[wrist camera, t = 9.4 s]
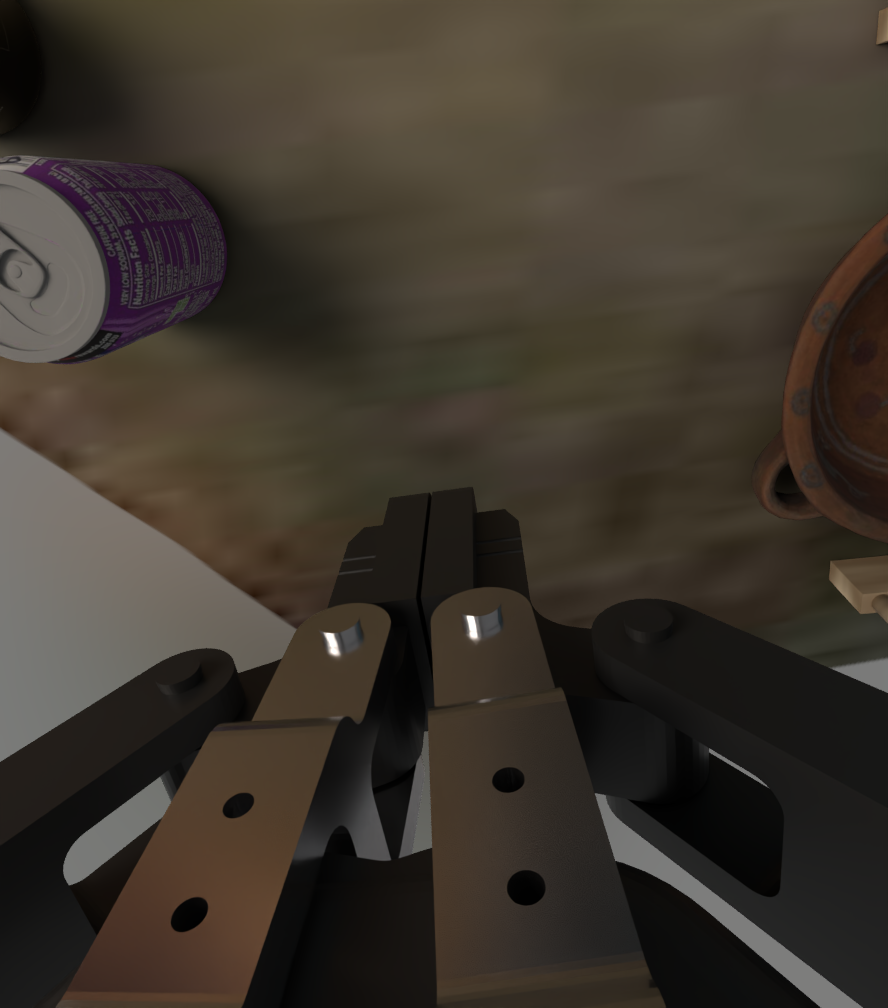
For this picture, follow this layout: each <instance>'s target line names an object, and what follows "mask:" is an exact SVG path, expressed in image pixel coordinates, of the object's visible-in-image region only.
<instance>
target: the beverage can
mask: <svg viewBox="0 0 888 1008" xmlns="http://www.w3.org/2000/svg"><path fill="white" fill-rule="evenodd" d="M226 266H227V247H226V241H225V236H224V232H223V229H222V226H221V223H220V221H219V219H218V217H217V215H216V213H215V211H214V209H213V208H212V206H211V205H210V203H209V202H208V200H207V199H206V198H205V197H204V195H203V194H202V193H201V192H200V191H199V190H198V189H197V188H196V187H195V186H194V185H192V184H191V183H190V182H189V181H187V180H186V179H185V178H183V177H181V176H180V175H178V174H176V173H174V172H172V171H170V170H168V169H165V168H162V167H159V166H154V165H148V164H135V163H122V162H108V161H95V160H82V159H68V158H55V157H41V156H26V155H19V156H8V157H2V158H0V356H2V357H5V358H8V359H11V360H15V361H20V362H27V363H43V362H48V363H55V364H76V363H82V362H87V361H90V360H94V359H97V358H99V357H102V356H104V355H106V354H108V353H111V352H113V351H115V350H118V349H120V348H122V347H124V346H127V345H129V344H131V343H133V342H136V341H138V340H140V339H142V338H145V337H147V336H149V335H151V334H154V333H156V332H158V331H160V330H163V329H165V328H167V327H169V326H172V325H174V324H176V323H178V322H181V321H183V320H185V319H188V318H190V317H192V316H194V315H196V314H197V313H199V312H201V311H202V310H203V309H204V308H206V307H207V306H208V305H209V304H210V303H211V302H212V300H213V299H214V298H215V296H216V295H217V293H218V291H219V289H220V287H221V285H222V283H223V280H224V276H225V272H226Z"/></svg>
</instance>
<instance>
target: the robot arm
mask: <svg viewBox="0 0 888 1008" xmlns="http://www.w3.org/2000/svg"><path fill="white" fill-rule="evenodd" d="M343 559H344V562H342V565H341V568H340V571H339V575H338V577H337V580H336V583H335V586H334V589H333V592H332V596H331V599H330V602H329V605H328V608H327V609H326V610H324V611H321V612H319V613H317V614H315V615H314V616H312V617H311V618H309V619H308V620H306V621H305V622H304V623H303V624H302V625H301V626H300V627H299V628H298V629H297V631H296V632H295V634H294V636H293V638H292V640H291V642H290V644H289V646H288V648H287V650H286V652H285V654H284V656H283V658H282V659H280V660H277V661H275V662H272V663H269V664H266V665H262V666H260V667H256V668H253V669H251V670H247V671H244V672H241V673H238V672H237V670H236V667H235V664H234V661H233V659H232V657H231V656H230V655H229V654H228V653H226V652H224V651H222V650H218V649H207V648H206V649H196V650H191V651H186V652H183V653H180V654H177V655H174V656H172V657H170V658H168V659H165V660H163V661H161V662H160V663H158V664H156V665H155V666H153V667H151V668H150V669H148V670H147V671H145V672H143V673H142V674H141V675H138V676H137V677H135V678H134V679H132V680H130V681H129V682H127V683H126V684H124V685H123V686H121V687H119V688H118V689H116V690H115V691H113V692H111V693H110V694H108V695H107V696H105V697H103V698H102V699H100V700H99V701H97V702H95V703H94V704H92V705H91V706H89V707H87V708H86V709H84V710H83V711H81V712H80V713H78V714H76V715H75V716H73V717H71V718H70V719H68V720H67V721H65V722H64V723H62V724H60V725H59V726H57V727H55V728H54V729H52V730H51V731H49V732H48V733H46V734H44V735H43V736H41V737H39V738H38V739H36V740H35V741H33V742H31V743H30V744H28V745H27V746H25V747H23V748H22V749H20V750H19V751H17V752H16V753H14V754H12V755H11V756H9V757H7V758H6V759H4V760H3V761H1V762H0V1008H820V1007H819V1006H818V1005H817V1004H816V1003H815V1002H813V1001H812V1000H811V999H810V998H809V997H807V996H806V995H805V994H804V993H803V992H802V991H800V990H799V989H798V988H797V987H796V986H795V985H793V984H792V983H791V982H790V981H789V980H787V979H786V978H785V977H784V976H783V975H782V974H780V973H779V972H778V971H777V970H776V969H774V968H773V967H772V966H771V965H770V964H769V963H767V962H766V961H765V960H764V959H763V958H762V957H760V956H759V955H758V954H757V953H755V952H754V951H753V950H752V949H751V948H750V947H749V946H747V945H746V944H745V943H744V942H743V941H742V940H740V939H739V938H738V937H737V936H736V935H734V934H733V933H732V932H731V931H730V930H729V929H727V928H726V927H725V926H724V925H722V924H721V923H720V922H719V921H718V920H717V919H716V918H714V917H713V916H712V915H711V914H710V913H708V912H707V911H706V910H705V909H703V908H702V907H701V906H700V905H698V904H697V903H696V902H695V901H693V900H692V899H691V898H689V897H688V896H686V895H685V894H683V893H682V892H680V891H679V890H677V889H676V888H674V887H673V886H671V885H670V884H668V883H666V882H664V881H662V880H660V879H658V878H657V877H655V876H653V875H651V874H649V873H647V872H645V871H642V870H640V869H637V868H635V867H632V866H629V865H626V864H624V863H621V862H617V861H615V859H614V856H613V852H612V849H611V846H610V842H609V839H608V836H607V832H606V829H605V826H604V823H603V819H602V816H601V813H600V810H599V806H598V803H597V800H596V796H595V793H598V794H604V795H606V799H607V802H608V805H609V807H610V809H611V810H612V812H613V813H614V814H615V816H616V817H617V818H619V819H620V820H621V821H622V822H623V823H624V824H625V825H627V826H628V827H629V828H631V829H632V830H633V831H635V832H636V833H637V834H639V835H640V836H641V837H642V838H644V839H645V840H646V841H648V842H649V843H650V844H651V845H653V846H654V847H655V848H657V849H658V850H659V851H661V852H662V853H663V854H664V855H666V856H667V857H668V858H670V859H671V860H672V861H673V862H675V863H676V864H677V865H679V866H680V867H681V868H683V869H684V870H685V871H687V872H688V873H689V874H690V875H692V876H693V877H694V878H696V879H697V880H699V881H700V882H701V883H702V884H703V885H705V886H706V887H707V888H709V889H710V890H711V891H712V892H714V893H715V894H716V895H718V896H719V897H720V898H722V899H723V900H724V901H725V902H727V903H728V904H729V905H731V906H732V907H733V908H734V909H736V910H737V911H738V912H740V913H741V914H742V915H744V916H745V917H746V918H747V919H749V920H750V921H751V922H753V923H754V924H755V925H757V926H758V927H759V928H760V929H762V930H763V931H764V932H766V933H767V934H768V935H770V936H771V937H772V938H774V939H775V940H776V941H777V942H779V943H780V944H781V945H783V946H784V947H785V948H786V949H788V950H789V951H790V952H792V953H793V954H794V955H795V956H797V957H798V958H799V959H801V960H802V961H803V962H805V963H806V964H807V965H809V966H810V967H811V968H812V969H814V970H815V971H816V972H818V973H819V974H820V975H822V976H823V977H824V978H825V979H827V980H828V981H829V982H831V983H832V984H833V985H834V986H836V987H837V988H839V989H840V990H841V991H842V992H844V993H845V994H846V995H847V996H849V997H850V998H851V999H853V1000H854V1001H855V1002H856V1003H858V1004H859V1005H861V1006H862V1007H863V1008H888V693H886V692H884V691H882V690H879V689H877V688H875V687H872V686H870V685H868V684H865V683H863V682H861V681H858V680H856V679H854V678H851V677H849V676H847V675H844V674H842V673H840V672H837V671H835V670H833V669H830V668H828V667H826V666H824V665H821V664H819V663H817V662H814V661H812V660H810V659H807V658H805V657H803V656H800V655H798V654H796V653H793V652H791V651H789V650H786V649H784V648H782V647H779V646H777V645H775V644H772V643H770V642H768V641H765V640H763V639H761V638H758V637H756V636H754V635H751V634H749V633H747V632H744V631H742V630H740V629H737V628H735V627H733V626H730V625H728V624H726V623H723V622H721V621H719V620H717V619H714V618H712V617H710V616H707V615H705V614H703V613H700V612H698V611H696V610H693V609H691V608H689V607H686V606H684V605H681V604H678V603H676V602H671V601H667V600H661V599H635V600H629V601H625V602H621V603H618V604H615V605H613V606H611V607H609V608H607V609H605V610H604V611H603V612H602V613H600V614H599V615H598V616H597V618H596V619H595V621H594V622H593V625H592V629H587V628H577V627H570V626H565V625H561V624H558V623H555V622H552V621H550V620H548V619H546V618H544V617H543V616H542V615H540V614H539V613H538V612H537V611H536V610H535V609H534V607H533V606H532V604H531V601H530V596H529V589H528V582H527V575H526V568H525V562H524V555H523V548H522V541H521V534H520V528H519V521H518V520H517V519H516V518H515V517H513V516H512V515H511V514H510V513H509V512H507V511H506V510H505V509H502V510H495V511H487V512H479V513H477V508H476V502H475V496H474V491H473V487H467V488H459V489H452V490H444V491H437V492H433V493H432V496H431V494H430V493H423V494H415V495H408V496H400V497H393V498H390V499H389V502H388V507H387V511H386V515H385V519H384V523H383V525H381V526H373V527H365V528H363V529H362V530H361V531H360V532H359V533H358V534H357V535H356V536H355V537H354V538H353V539H352V540H351V541H350V542H349V543H348V546H347V549H346V552H345V555H344V558H343ZM424 731H428V733H429V734H428V735H429V762H430V763H429V764H430V795H431V823H432V824H431V825H432V848H430V849H427V850H423V851H420V852H417V853H414V854H412V850H413V843H414V838H415V831H416V825H417V819H418V813H419V807H420V801H421V795H422V789H423V783H424V777H425V770H424V764H423V759H422V755H421V752H422V747H423V737H424ZM709 748H710V749H712V750H713V751H715V752H717V753H718V754H720V755H722V756H723V757H725V758H727V759H728V760H730V761H732V762H733V763H735V764H737V765H739V766H740V767H742V768H744V769H745V770H747V771H749V772H750V773H752V774H753V775H755V776H756V777H758V778H759V779H760V780H762V781H763V782H764V783H765V784H766V785H767V786H768V787H769V788H768V787H766V786H764V785H763V784H761V783H759V782H757V781H756V780H754V779H753V778H751V777H749V776H748V775H746V774H744V773H743V772H741V771H739V770H737V769H736V768H734V767H733V766H731V765H729V764H727V763H726V762H724V761H722V760H721V759H719V758H717V757H716V756H714V755H713V754H711V753H709ZM159 777H161V779H162V782H163V784H164V786H165V788H166V791H167V793H168V795H169V798H170V799H171V804H170V806H169V807H168V809H167V811H166V813H165V814H164V816H163V817H162V818H161V819H160V820H159V821H157V822H156V823H155V824H153V825H152V826H151V827H150V828H148V829H147V830H146V831H145V832H143V833H142V834H141V835H139V836H138V837H137V838H136V839H134V840H133V841H132V842H131V843H129V844H128V845H127V846H126V847H124V848H123V849H122V850H120V851H119V852H118V853H117V854H115V856H113V857H112V858H110V859H109V860H108V861H107V862H105V863H104V864H103V865H101V866H100V867H99V868H98V869H96V870H95V871H94V872H93V873H91V874H90V875H89V876H88V877H86V878H85V879H83V880H82V881H80V882H78V883H75V884H73V885H68V883H67V882H66V880H65V878H64V874H63V864H64V860H65V858H66V855H67V853H68V851H69V849H70V848H71V846H72V845H73V844H74V842H75V841H76V840H77V839H78V838H79V837H80V836H81V835H82V834H84V833H85V832H86V831H88V830H89V829H90V828H92V827H93V826H94V825H96V824H97V823H98V822H100V821H101V820H102V819H104V818H105V817H106V816H108V815H109V814H110V813H112V812H113V811H114V810H116V809H117V808H118V807H120V806H121V805H122V804H124V803H125V802H127V801H128V800H129V799H131V798H132V797H133V796H135V795H136V794H137V793H139V792H140V791H141V790H142V789H144V788H145V787H147V786H148V785H149V784H151V783H152V782H153V781H155V780H156V779H157V778H159Z"/></svg>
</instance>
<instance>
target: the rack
mask: <svg viewBox="0 0 888 1008" xmlns="http://www.w3.org/2000/svg"><path fill="white" fill-rule="evenodd" d="M883 43H888V7H887V8H885V9H883V10H881V11H879V19H878V31H877V42H876V45H877V44H883ZM829 580H830V581H831V582H832V583H833V584H834V585H835V586H836V588H837V589H838V590H839V591H840V592H841V593H842V594H843V595H844V596H845V597H846V599H847V600H848V601H849V602H850V603H851V604H852V605H853V606H854V607H855V608H856V610H857V611H858V612H859V613H860V614H866V613H876V612H877V613H878V614H879V615H880V616H881V617H882V618H883V619H884V620H885V621H886V622H887V623H888V555H886V556H876V557H866V558H856V559H846V560H836V561H831V563H830V574H829Z"/></svg>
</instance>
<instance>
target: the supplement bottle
mask: <svg viewBox="0 0 888 1008" xmlns="http://www.w3.org/2000/svg"><path fill="white" fill-rule="evenodd" d="M40 84H41V57H40V51H39V47H38V43H37V39H36V36H35V33H34V31H33V28H32V26H31V24H30V21H29V19H28V17H27V16H26V14H25V12H24V10H23V9H22V7H21V6H20V4H19V3H18V1H17V0H0V135H1V134H4V133H6V132H8V131H10V130H12V129H14V128H15V127H17V126H18V125H19V124H20V123H22V122H23V120H24V119H25V118H26V117H27V116H28V115H29V113H30V112H31V110H32V108H33V106H34V104H35V102H36V100H37V97H38V93H39V89H40Z"/></svg>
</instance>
